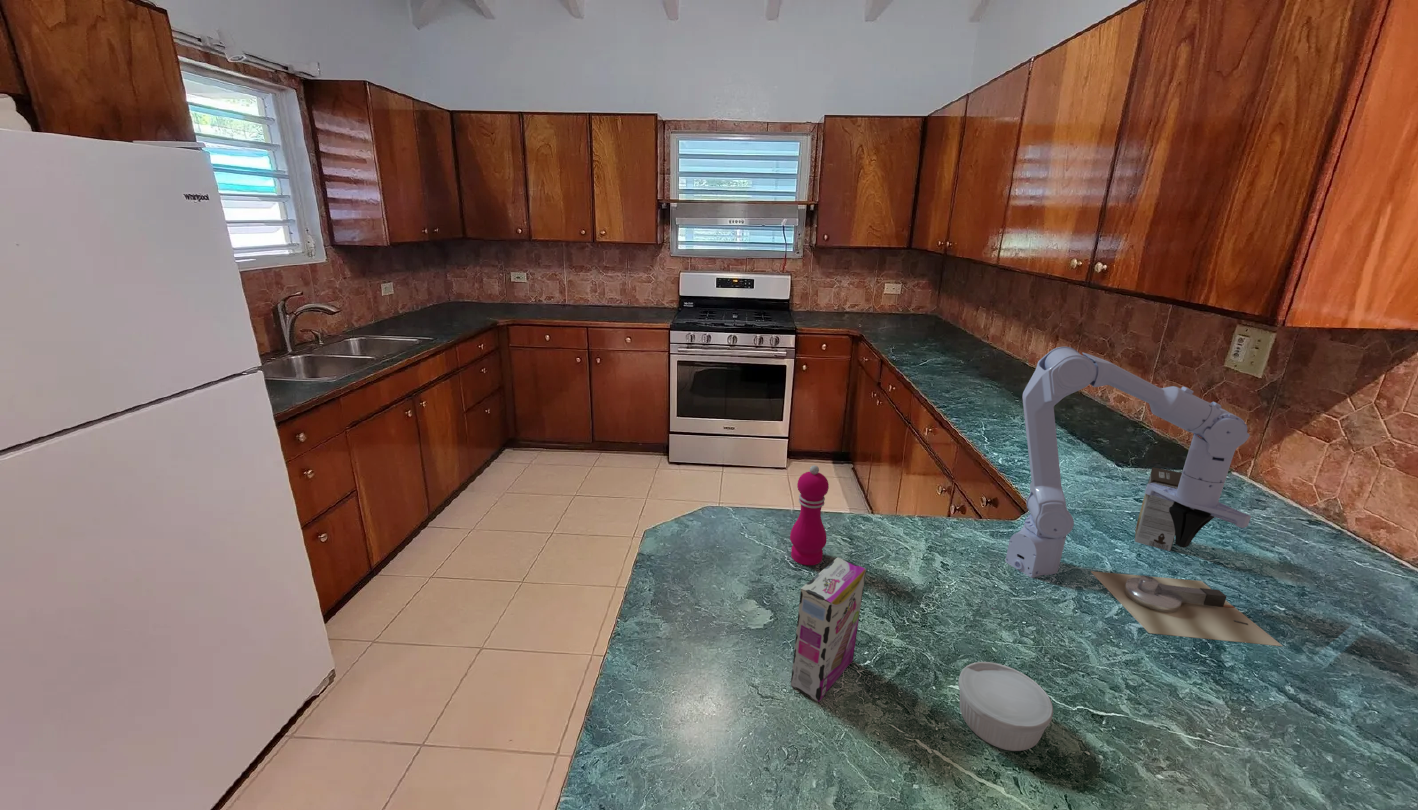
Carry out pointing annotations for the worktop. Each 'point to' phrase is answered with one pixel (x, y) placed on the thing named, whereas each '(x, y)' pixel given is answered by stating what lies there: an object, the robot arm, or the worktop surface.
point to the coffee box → (1157, 513)
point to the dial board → (1188, 614)
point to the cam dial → (1169, 594)
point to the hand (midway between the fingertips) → (1181, 545)
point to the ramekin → (1003, 705)
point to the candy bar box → (827, 627)
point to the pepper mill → (810, 519)
